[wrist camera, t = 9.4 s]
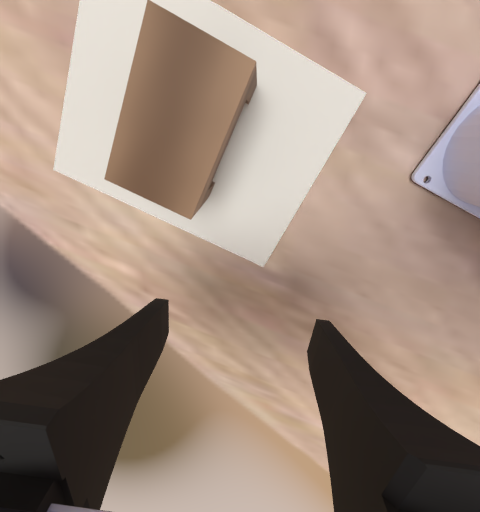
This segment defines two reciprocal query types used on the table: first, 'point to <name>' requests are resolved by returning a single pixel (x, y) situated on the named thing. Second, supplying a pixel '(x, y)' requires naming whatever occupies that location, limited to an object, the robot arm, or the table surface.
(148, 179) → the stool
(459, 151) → the robot arm
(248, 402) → the table surface
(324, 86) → the mat
